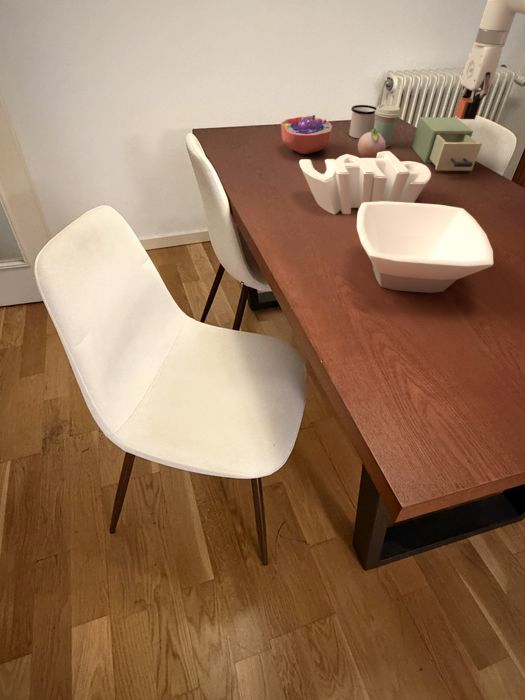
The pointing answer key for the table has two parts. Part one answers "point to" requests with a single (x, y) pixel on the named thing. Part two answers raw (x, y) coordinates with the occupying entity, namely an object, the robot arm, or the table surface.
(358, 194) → the white wavy slab sculpture
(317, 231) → the table surface
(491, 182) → the table surface
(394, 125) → the coffee cup
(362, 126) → the mug
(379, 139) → the decorative fruit
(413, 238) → the bowl
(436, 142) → the drawer
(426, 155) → the cabinet
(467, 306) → the table surface
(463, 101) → the block
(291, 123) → the cell model
